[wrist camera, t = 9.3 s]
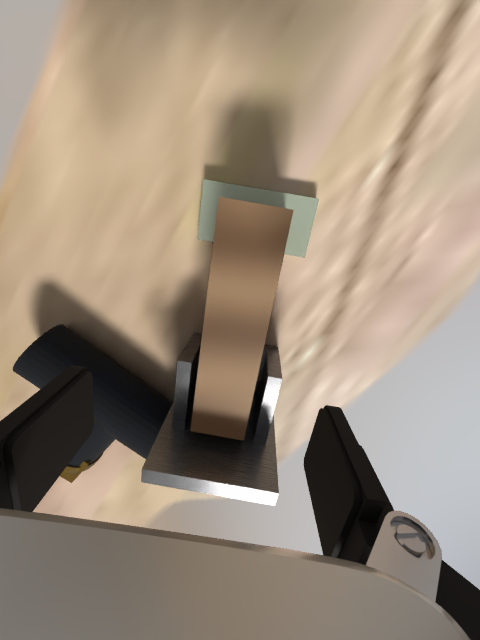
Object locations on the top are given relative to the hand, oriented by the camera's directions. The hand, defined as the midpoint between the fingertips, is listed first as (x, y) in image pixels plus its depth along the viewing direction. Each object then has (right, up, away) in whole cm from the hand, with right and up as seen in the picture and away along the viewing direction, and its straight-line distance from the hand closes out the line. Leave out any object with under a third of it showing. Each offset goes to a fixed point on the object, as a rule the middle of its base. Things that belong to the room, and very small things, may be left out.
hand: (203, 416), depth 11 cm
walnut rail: (+1, +4, +11) cm, 12 cm away
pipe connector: (-12, -4, +17) cm, 21 cm away
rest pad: (+3, +11, +9) cm, 15 cm away
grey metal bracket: (0, -1, +14) cm, 14 cm away
